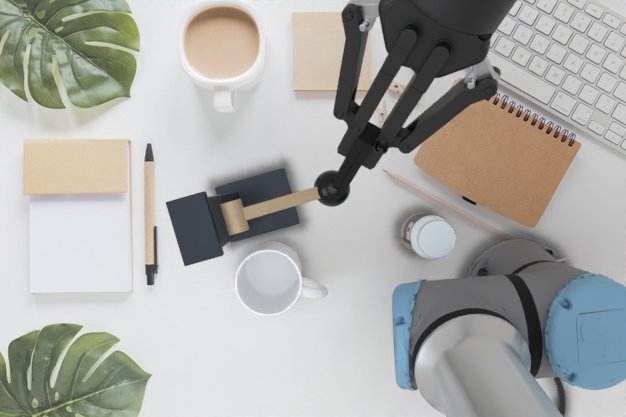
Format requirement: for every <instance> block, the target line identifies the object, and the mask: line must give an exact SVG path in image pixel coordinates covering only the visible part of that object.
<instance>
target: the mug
mask: <svg viewBox="0 0 626 417" xmlns="http://www.w3.org/2000/svg"><path fill="white" fill-rule="evenodd" d="M236 269H237V270H236V272H235V276H234V290H235V293H236V296H237V298H238V300H239V302H240V303H241V304H242V305H243V306H244V308H245V309H247V310H248V311H249V312H251V313H253V314H256V315H259V316H261V317H262V316H263V317H274V316H275V317H276V316H278V315H281V314H283V313H285V312H287V311H289V310H290V309H291V308H292V307H293V306H294V305H295V304H296V302H298V300H299V298H300V297H302V298H306V299H311V300H321V299H325V298H326V297H327V296H328V293H329V291H328V288H327V287H326V286H325V285H324V284H322V283H320V282H318V281H316V280H314V279H311V278H308V277H305V276H303V266H302V262H301V259H300V257H299V255H298V254H297V252H296V251H295V250H294V249H293V248H292V247H291V246H290V245H288V244H286V243H283V242H280V241H274V240H273V241H271V240H270V241H264V242H261V243H259V244H257V245H255V246H254V247H253V248H252V249H251V250H250V251H249V252H248V253H247V255H246V256H245V257H244V259H243V260H242V261H241V262H240V264H239V265H238V268H236Z"/></svg>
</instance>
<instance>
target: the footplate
mask: <svg viewBox="0 0 626 417" xmlns="http://www.w3.org/2000/svg"><path fill="white" fill-rule="evenodd" d="M214 191H215V194H216V195H223V194H229V193H236V192H238V193H239V196H240V199H241V201H242V205H243V208H244V207H247V206H251V205H254V204H258V203H261V202H265V201H268V200H271V199H275V198H278V197H282V196H285V195H289V194H292V189H291V186H290V183H289V178H288V175H287V172H286V168H285V167H282V168H278V169H275V170H274V169H273V170H272V171H267V172H264V173H261V174H257V175H254V176H250V177H246V178H243V179H239V180H236V181H233V182H232V181H231V182H230V183H225V184H222V185H218V186H215V187H214ZM247 222H248V226H249V230H247V231H244V232H241V233H240V234H238V235H237V236H236V237H235V238H233V239H232V240H231V241H230V242H229V243H231V244H232V243H236V242H239V241H242V240H246V239H249V238H254V237H257V236H260V235H263V234H267V233H271V232H274V231H278V230H281V229H286V228H289V227H291V226H296V225H299V224H300V223H301V221H300V217H299V214H298V211H297V207H296V206H293V207H290V208H287V209H283V210H280V211H276V212H273V213H270V214H266V215H263V216H260V217H256V218H253V219H249V220H247Z"/></svg>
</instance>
